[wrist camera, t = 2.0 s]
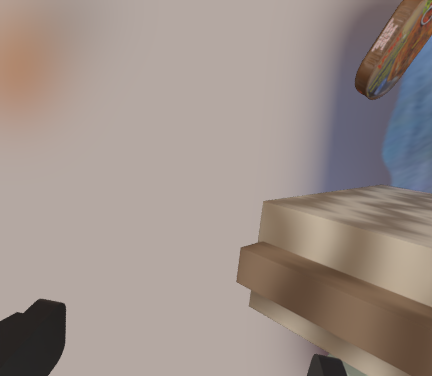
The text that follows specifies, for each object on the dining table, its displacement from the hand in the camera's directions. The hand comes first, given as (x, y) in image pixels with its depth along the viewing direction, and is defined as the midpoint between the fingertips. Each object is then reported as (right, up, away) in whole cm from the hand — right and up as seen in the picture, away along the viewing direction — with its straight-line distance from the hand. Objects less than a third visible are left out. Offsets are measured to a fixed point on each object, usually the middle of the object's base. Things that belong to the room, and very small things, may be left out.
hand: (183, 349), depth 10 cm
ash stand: (+33, -1, +36) cm, 48 cm away
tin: (+30, +25, +37) cm, 54 cm away
